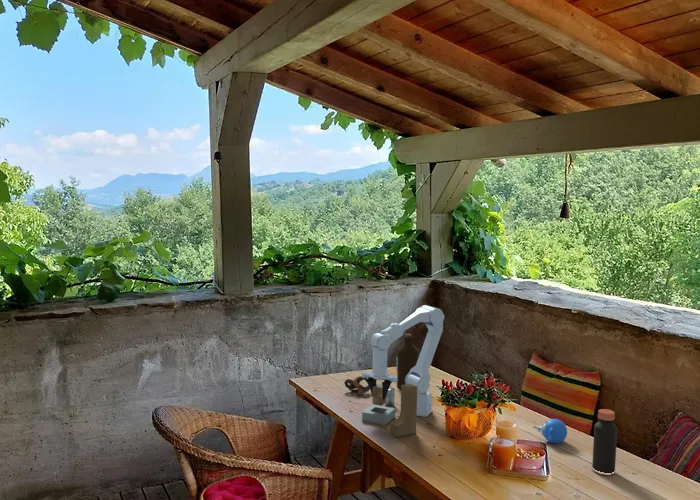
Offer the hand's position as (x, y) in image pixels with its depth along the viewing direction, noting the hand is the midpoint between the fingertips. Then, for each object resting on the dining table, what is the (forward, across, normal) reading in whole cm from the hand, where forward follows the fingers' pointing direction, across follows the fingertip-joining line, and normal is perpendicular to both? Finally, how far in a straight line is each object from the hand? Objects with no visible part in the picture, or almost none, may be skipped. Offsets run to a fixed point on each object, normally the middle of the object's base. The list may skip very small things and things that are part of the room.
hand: (379, 397), depth 239 cm
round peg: (+9, -2, +17) cm, 19 cm away
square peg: (+2, 0, 0) cm, 3 cm away
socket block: (+9, 0, 0) cm, 9 cm away
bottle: (+9, +83, -10) cm, 84 cm away
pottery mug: (+9, -21, +26) cm, 35 cm away
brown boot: (+9, +14, -10) cm, 19 cm away
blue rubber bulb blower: (+9, +64, +8) cm, 65 cm away
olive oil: (+9, -4, +44) cm, 45 cm away
